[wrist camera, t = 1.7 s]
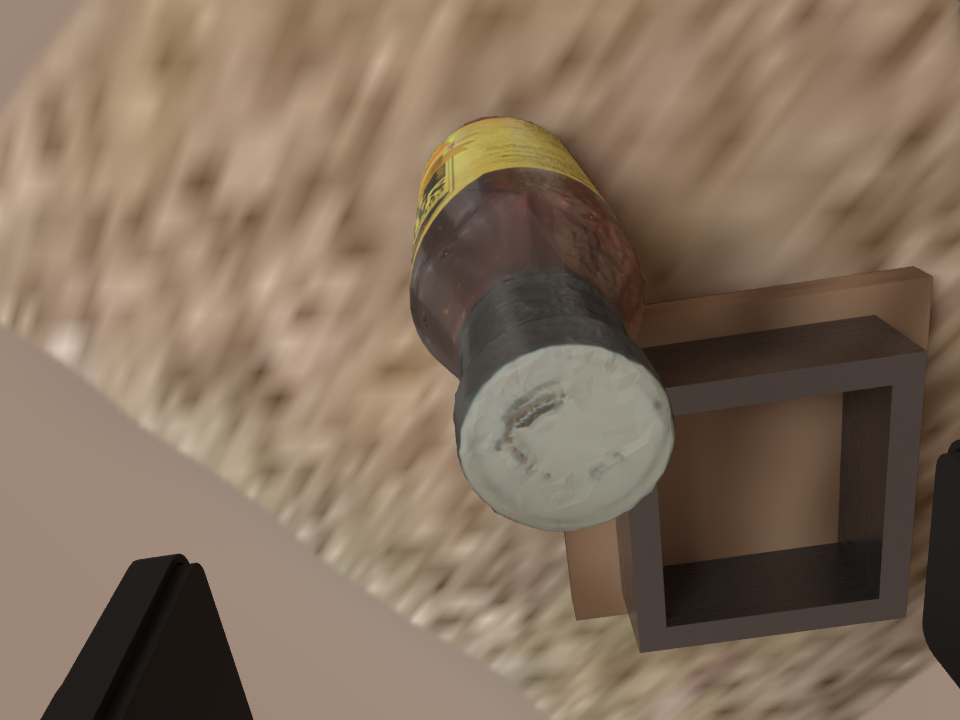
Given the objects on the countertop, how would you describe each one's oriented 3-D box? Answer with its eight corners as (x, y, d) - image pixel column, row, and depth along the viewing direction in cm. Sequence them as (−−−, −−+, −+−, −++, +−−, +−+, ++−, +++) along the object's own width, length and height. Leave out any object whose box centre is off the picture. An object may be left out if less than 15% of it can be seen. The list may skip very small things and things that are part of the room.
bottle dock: (913, 266, 34) (993, 308, 29) (893, 556, 40) (957, 634, 35) (538, 320, 35) (553, 371, 30) (572, 600, 41) (589, 683, 36)
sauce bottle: (407, 124, 32) (349, 271, 13) (567, 100, 31) (732, 214, 13) (435, 284, 34) (418, 594, 16) (583, 262, 34) (740, 549, 16)
